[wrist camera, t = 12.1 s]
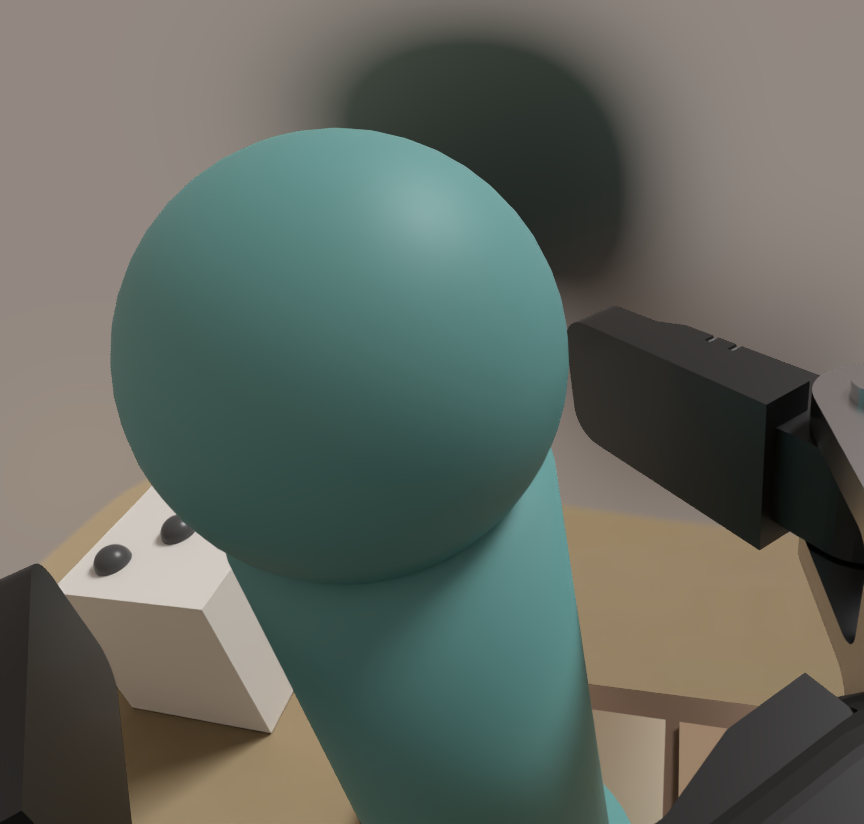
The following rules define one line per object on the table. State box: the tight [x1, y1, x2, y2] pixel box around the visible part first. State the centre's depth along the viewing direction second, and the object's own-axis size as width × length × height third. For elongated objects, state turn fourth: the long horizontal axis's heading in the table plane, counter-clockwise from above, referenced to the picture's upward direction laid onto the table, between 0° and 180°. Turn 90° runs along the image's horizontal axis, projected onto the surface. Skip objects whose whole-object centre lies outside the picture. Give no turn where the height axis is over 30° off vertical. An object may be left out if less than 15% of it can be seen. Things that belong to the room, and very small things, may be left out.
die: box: [58, 486, 293, 733], centre depth 20 cm, size 5×5×6 cm
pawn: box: [111, 128, 631, 824], centre depth 9 cm, size 5×5×14 cm
